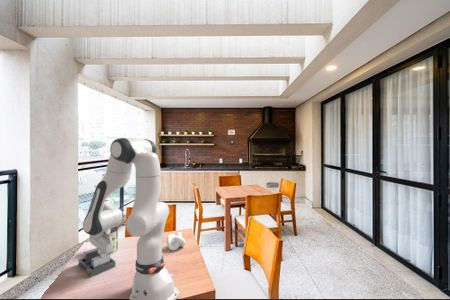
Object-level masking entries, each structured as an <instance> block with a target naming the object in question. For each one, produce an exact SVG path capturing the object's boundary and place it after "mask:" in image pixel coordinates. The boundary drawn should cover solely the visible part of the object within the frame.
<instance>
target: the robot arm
mask: <svg viewBox="0 0 450 300" xmlns="http://www.w3.org/2000/svg"><path fill="white" fill-rule="evenodd" d="M109 151H110V155H109V158H108V162H107V165H106V166H107V167H106V172H105V174H104V176H103V178H102V179H101V180H100V182H98V183H97V185H96V186H95V189H94V193H93V196H92V199H91V201H90V205H89V208H88V210H87V214H86V215H85V217H84V220H82V229H83V232H84V233H86V234H87V235H88V236H89V242H90V244H91V245H92V246H94V247H95V248H97V250H98V256H100V257H103V256H104V253H105V254H107V253H110V252H112V251H113V243H112V238H111V237H110V236H109V233H110V229H111V228H113V227H119V226H120V225H121V224H123V222H124V218H125V215H124V214H125V213H124V211H123V210H122V209H121V208H119V207H116V206H114V205H112V204H111V201H110V200H108V197H109V196H110V195H111V194H112V193H114V192H116V191H117V190H120V189H121V188H123V187H125V186H126V185H127V184H128V183H129V181H130V178H131V173H132V169H133V165H134V166H135V194H134V202H133V205H132V209H131V211H130V214H129V215H128V217H127V219H126V222H125V228H126V231H127V233H128V234H129V235H130V236H132V237H135V238H137V237H139V238H138V241H137V242H136V259H135V270H136V271H135V273H134V276H133V279H132V289H131V294H130V295H129V300H177V299H178V297H179V296H180V295H181V294H180V293H181V291H180V290H179V288H178V287H176V285H175V282H174V275H173V273H172V272H171V273H169V271H168V268H167V267H166V266H165V265H166V262H165V260H164V256H163V237H164V231H165V227H166V222H167V219H168V216H169V214H170V208H169V205H168V204H167V203H166V202H164V201H159V197H160V195H161V193H162V170H161V164H160V159H159V156H158V154H156V153H157V147H156V143H155V142H154V141H152V140H150V139H148V138H147V139H145V138H137V137H127V138H126V137H121V138H115V139H114V140H113V141H112V143H111V144H110V148H109Z"/></svg>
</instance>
